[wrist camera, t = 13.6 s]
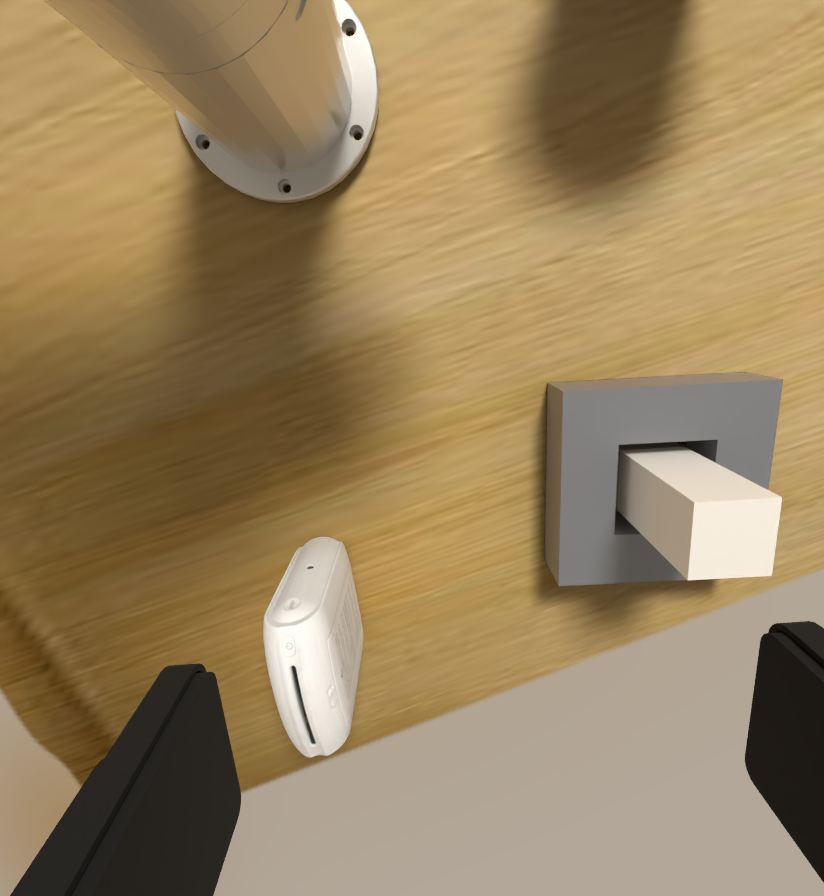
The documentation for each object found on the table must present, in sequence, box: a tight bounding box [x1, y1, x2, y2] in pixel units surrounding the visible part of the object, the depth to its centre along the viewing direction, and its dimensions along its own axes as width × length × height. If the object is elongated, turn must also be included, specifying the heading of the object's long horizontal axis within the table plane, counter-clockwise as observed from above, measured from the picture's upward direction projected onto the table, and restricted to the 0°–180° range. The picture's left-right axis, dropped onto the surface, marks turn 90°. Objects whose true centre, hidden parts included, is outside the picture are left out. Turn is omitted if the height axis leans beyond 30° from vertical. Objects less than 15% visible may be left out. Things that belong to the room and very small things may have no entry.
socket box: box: [545, 372, 783, 586], centre depth 37 cm, size 14×14×4 cm
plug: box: [616, 442, 782, 580], centre depth 33 cm, size 4×4×12 cm
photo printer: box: [263, 537, 363, 758], centre depth 36 cm, size 10×4×12 cm, turn 9°
